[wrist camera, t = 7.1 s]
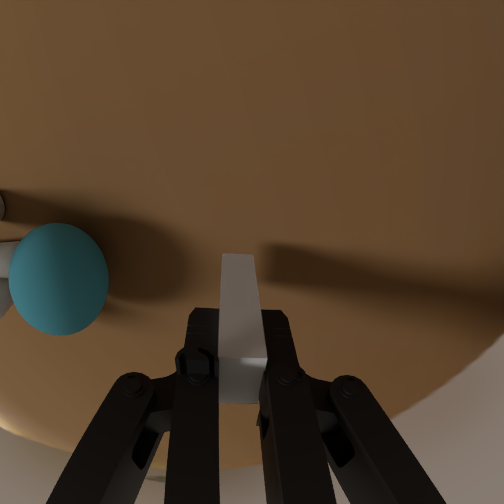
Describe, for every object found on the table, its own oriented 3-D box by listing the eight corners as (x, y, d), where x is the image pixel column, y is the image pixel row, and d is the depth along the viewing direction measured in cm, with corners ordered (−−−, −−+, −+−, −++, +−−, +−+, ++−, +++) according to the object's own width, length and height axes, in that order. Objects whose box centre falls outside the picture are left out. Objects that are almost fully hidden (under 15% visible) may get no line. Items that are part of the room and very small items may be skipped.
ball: (0, 240, 12) (81, 210, 16) (32, 328, 14) (106, 296, 18) (-14, 250, 8) (103, 207, 12) (39, 372, 10) (138, 323, 13)
